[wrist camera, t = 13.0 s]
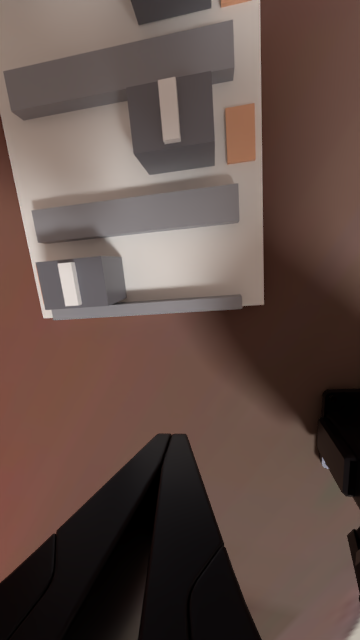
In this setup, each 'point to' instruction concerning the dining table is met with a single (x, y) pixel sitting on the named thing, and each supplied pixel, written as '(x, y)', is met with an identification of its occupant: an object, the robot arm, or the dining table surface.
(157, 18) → the tab
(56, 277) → the tab
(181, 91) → the tab
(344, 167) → the dining table surface
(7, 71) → the switch board
